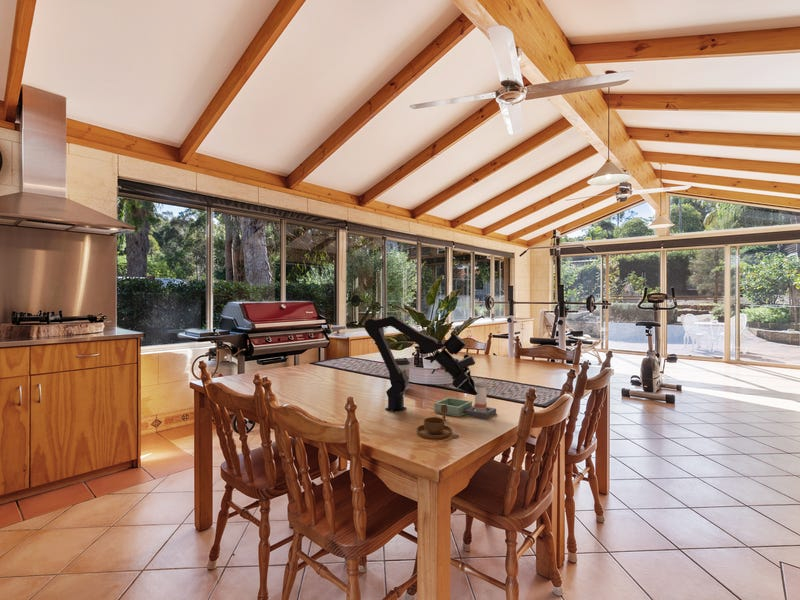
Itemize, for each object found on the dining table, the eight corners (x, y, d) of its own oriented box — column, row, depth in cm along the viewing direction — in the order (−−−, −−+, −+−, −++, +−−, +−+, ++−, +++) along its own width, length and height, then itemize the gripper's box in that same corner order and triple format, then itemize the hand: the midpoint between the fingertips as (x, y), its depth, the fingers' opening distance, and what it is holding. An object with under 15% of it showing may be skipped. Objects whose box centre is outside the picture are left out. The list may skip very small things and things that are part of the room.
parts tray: (458, 416, 154) (458, 407, 154) (434, 411, 161) (434, 403, 161) (471, 410, 163) (471, 401, 163) (448, 405, 169) (448, 397, 169)
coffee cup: (399, 391, 194) (399, 360, 194) (388, 388, 201) (388, 358, 201) (413, 388, 200) (413, 358, 199) (402, 385, 207) (402, 356, 206)
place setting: (403, 431, 139) (403, 414, 139) (442, 419, 152) (442, 403, 152) (440, 446, 126) (440, 427, 126) (480, 431, 139) (480, 414, 139)
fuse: (483, 417, 153) (483, 383, 153) (472, 414, 156) (472, 381, 156) (488, 414, 157) (488, 381, 157) (477, 412, 160) (477, 379, 160)
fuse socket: (486, 419, 150) (486, 414, 150) (464, 415, 156) (464, 410, 156) (496, 413, 157) (496, 408, 157) (475, 409, 163) (475, 404, 163)
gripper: (461, 352, 148) (492, 382, 146) (463, 345, 167) (491, 372, 165) (440, 372, 150) (470, 403, 148) (445, 364, 169) (472, 391, 166)
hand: (476, 391), depth 157 cm, fingers open, 9 cm apart
